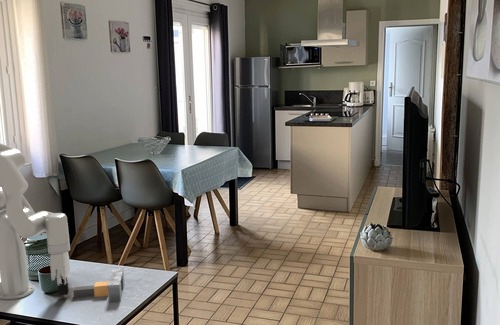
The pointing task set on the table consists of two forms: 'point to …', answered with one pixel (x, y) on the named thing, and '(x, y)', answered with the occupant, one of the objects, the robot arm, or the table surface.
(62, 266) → the robot arm
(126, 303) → the table surface
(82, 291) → the cable plug
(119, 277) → the grey notched block
